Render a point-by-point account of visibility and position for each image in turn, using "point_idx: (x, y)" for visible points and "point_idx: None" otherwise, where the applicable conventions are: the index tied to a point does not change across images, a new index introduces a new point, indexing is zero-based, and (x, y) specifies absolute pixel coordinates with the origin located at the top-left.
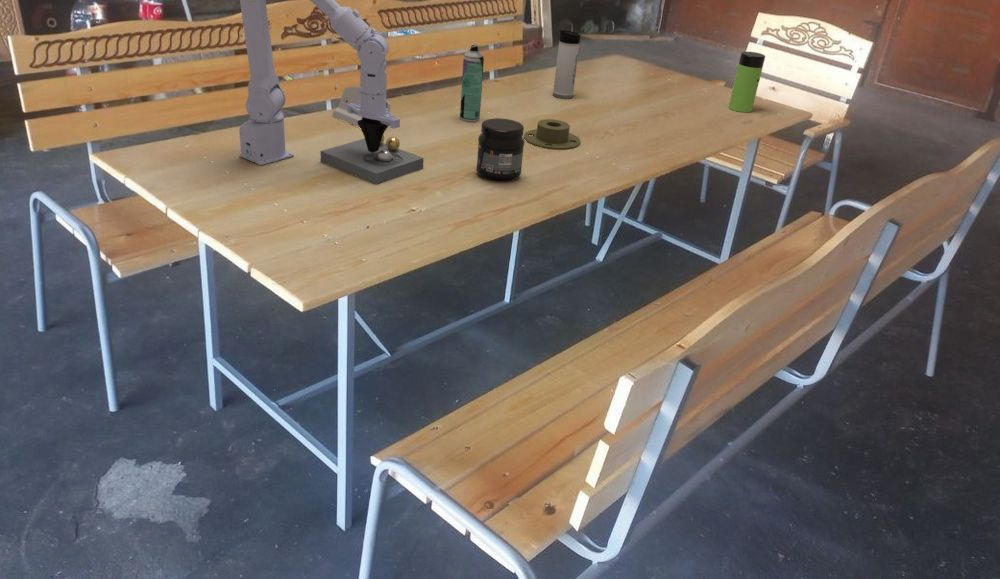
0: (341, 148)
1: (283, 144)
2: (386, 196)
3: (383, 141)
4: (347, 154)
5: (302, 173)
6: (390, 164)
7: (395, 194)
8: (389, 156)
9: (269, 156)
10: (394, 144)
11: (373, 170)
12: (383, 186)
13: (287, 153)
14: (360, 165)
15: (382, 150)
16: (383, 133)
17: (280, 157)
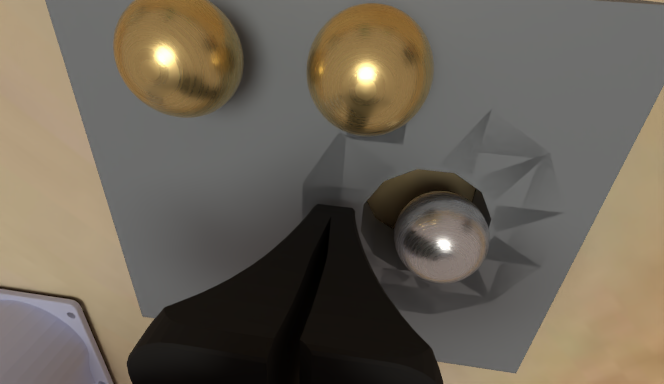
0: (157, 245)
1: (40, 369)
2: (600, 381)
3: (236, 31)
4: None
5: None
6: (515, 266)
7: (629, 357)
8: (486, 252)
9: (82, 376)
10: (416, 113)
11: (482, 358)
12: (540, 327)
13: (57, 312)
14: None
15: (428, 270)
16: (382, 290)
17: (87, 345)
